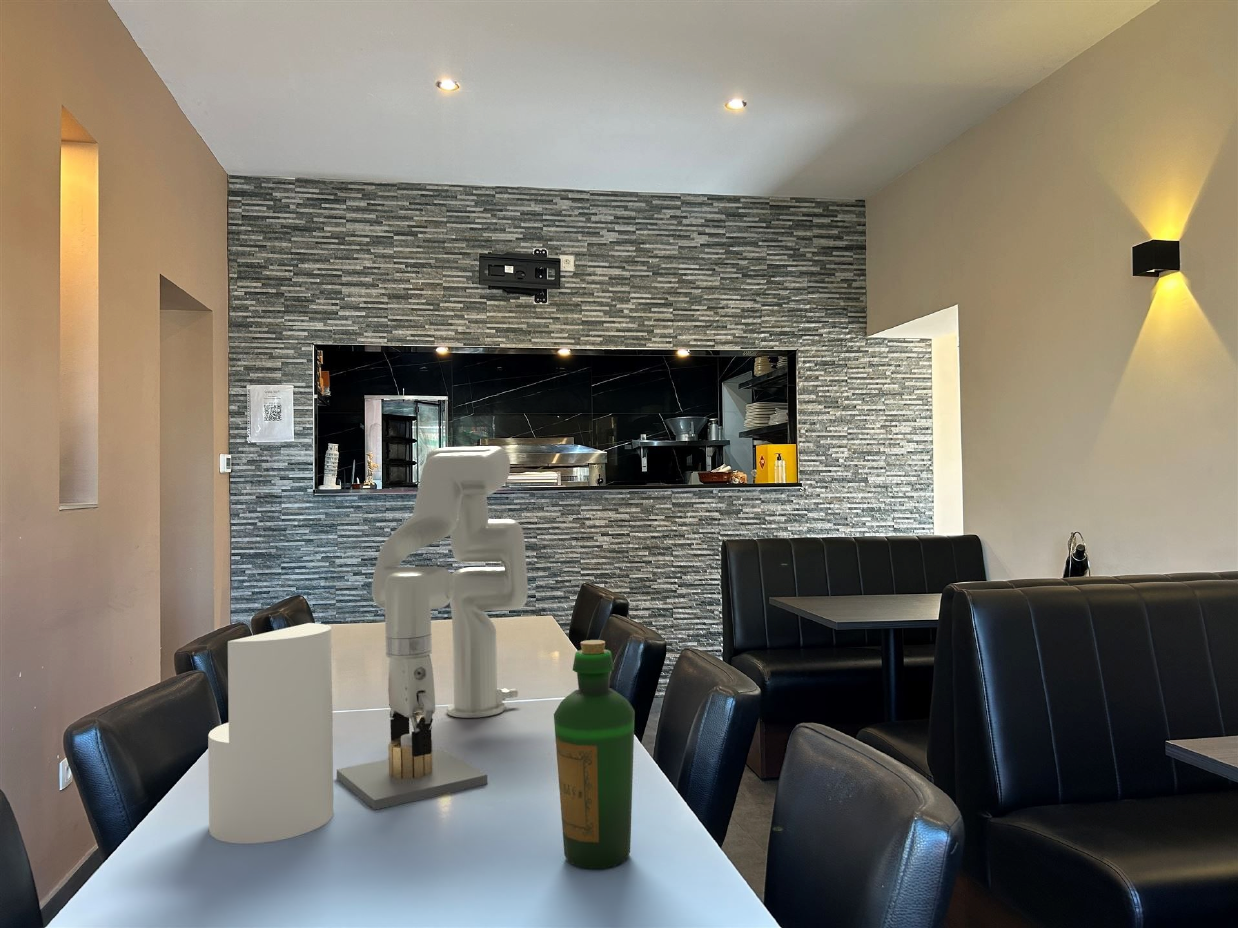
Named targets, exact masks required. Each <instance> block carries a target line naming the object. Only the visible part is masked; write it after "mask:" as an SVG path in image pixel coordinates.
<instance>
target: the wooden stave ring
mask: <svg viewBox="0 0 1238 928" xmlns="http://www.w3.org/2000/svg"><path fill="white" fill-rule="evenodd" d="M431 740H432V741H433V739H432V738H431ZM388 759H389V775H390V776H391V777H393V778H399V779H402V778H403V779H411V778H417V777H422V776H425V775H427V774H430V773H431V772H432V770H433V757H432V752H431V753H430V754H427V755H422V756H417V757H414V756H413V755H412V746H401V738H398V739H395V740H392V741H391V740H390V741H389V743H388Z"/></svg>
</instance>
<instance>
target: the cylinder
mask: <svg viewBox="0 0 1238 928" xmlns="http://www.w3.org/2000/svg"><path fill="white" fill-rule="evenodd" d="M332 667H333V666H332V626H331V625H329V624H324V623H315V622H314V623H313V622H307V623H304V624H299V625H294V626H290V627H289V626H288V627H285V628H280V629H276V630H272V631H268V632H263V633H259V634H254V635H250V636H246V637H241V638H236V639H232V640H228V641H227V681H228V682H227V685H228V686H227V687H228V688H227V690H228V691H227V694H228V698H227V699H228V701H227V702H228V703H227V704H228V706H227V707H228V708H227V709H228V722H226V723H225V722H224V723H223V724H220V725H217V726H216V727H214V728H213V729H212V730H210V731H209V733H208V735H207V737H208V738H207V739H208V741H207V742H208V744H207V747H208V749H207V751H208V756H207V757H208V828H209V829H208V832H209V834H210V836H211V837H212V838H214V839H216V840H218V841H221V842H226V843H230V844H231V843H232V844H244V845H245V844H263V843H270V842H277V841H282V840H286V839H290V838H294V837H295V838H296V837H297V836H301V835H304V834H307V833H311V832H312V831H315V830H316V829H318V828H320V827H323V826H324V825H325V824H327V823H328V822H330V820H331V819H332V818H333V816H334V813H335V812H334V811H335V810H334V805H335V804H334V754H333V753H334V747H333V745H334V743H333V742H334V741H333V737H334V736H333V735H334V734H333V733H334V732H333V727H332V717H333V681H332V680H333V677H332V675H333V673H332V671H333V670H332V669H333V668H332Z"/></svg>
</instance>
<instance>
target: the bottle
mask: <svg viewBox="0 0 1238 928" xmlns="http://www.w3.org/2000/svg"><path fill="white" fill-rule="evenodd" d="M605 647H606V641H605V640H601V639H590V640H589V639H588V640H583V641H582V640H581V642H580V648H581V649H580V650H577V651H576V652H575V653H574V660H573V664H572V665H573V666H572V671H573V672H574V673H576V675H577V676H576V677H577V685H578V689H574V691H572V692H571V693H570V694H568V695H567V696H566V697H564V699H562V700H561V702H560V703H559V704H558V706H557V708H556V710H555V711H554V713H553V722H554V724H553V725H554V735H555V747H556V748H555V750H556V751H555V752H556V762H557V774H558V789H559V801H560V812H561V814H560V815H561V826H562V840H563V843H562V844H563V852H564V853H563V855H564V857H565V858H566V860H567V862H569V863H571V864H573V865H575V866H577V867H581V868H584V869H596V870H600V869H607V868H611V867H614V866H617V865H618V864H620V863H622V862H624V861H625V860H627V859H628V858H629V856H630V853H631V842H632V841H631V838H632V836H631V834H632V813H633V812H632V808H633V807H632V805H633V782H634V781H633V775H634V774H633V773H634V744H635V742H634V741H635V717H636V716H635V714H636V711H635V709H634V708H633V706H632V704H631V703H630V701H629V699H627V698H626V697H624V696H623V695H622V694H620V693H619V692H617V691H615V690H614V689H613V688H610V680H611V679H610V678H611V672H612V671H613V670H614V669H615V665H614V661H613V656H612V652H611V650H608V649H605Z"/></svg>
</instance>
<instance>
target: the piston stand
mask: <svg viewBox="0 0 1238 928" xmlns="http://www.w3.org/2000/svg"><path fill="white" fill-rule="evenodd" d="M401 746H412V733H410V734H405V735H402V736H401ZM432 757H433V770H432V772H431V773H430V774H427V775H425V776H422V777H417V778H411V779H403V778H402V779H399V778H393V777H391V776H390V775H389V758H387V759H382V760H377V761H372V762H367V763H361V764H357V765H352V766H347V767H342V768H337V769H336V779H337V780H339V781H340V783H342V784H343V785H344V786H345V787H346V788H347V789H349V790H350V791H351V790H352V791H351V792H352V793H354V794H355V795H356V796H357V798H358V797H359V798H360V799H361V801H363V802H364V801H365V802H364V803H366V804H367V805H368V807H370V806H371V807H372V808H371V807H370V808H371V809H373V808H374V809H373V810H374V811H376V810H375V809H377V810H379V809H378V808H381V809H384V807H386V808H388V807H387V806H390V807H393V805H394V806H397V805H398V804H399V805H402V804H401V803H403V804H407V803H410V802H411V801H412V802H415V801H419V800H424V799H428V798H431V797H436V796H442V795H446V794H449V793H455V792H458V791H462V790H467V789H471V788H475V787H481V786H485V785H488V774H486V773H485V772H484V771H481V770H480V769H478V768H476V767H474V766H472V765H471V764H470V763H468V762H466V761H464V760H462V759H460V758H458V757H456V756H455V755H453V754H452V753H450V752H448V751H446V750H445V749H443V748H437V749H432ZM412 802H411V803H412Z"/></svg>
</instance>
